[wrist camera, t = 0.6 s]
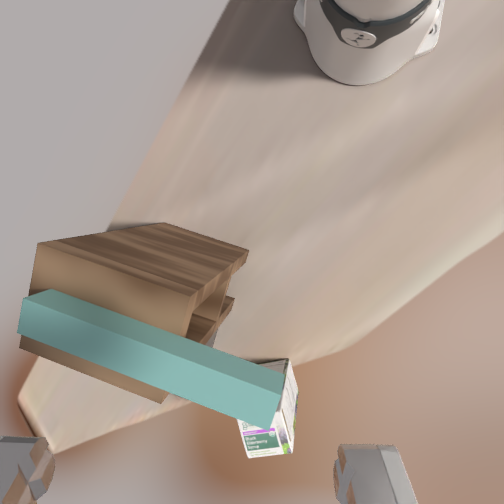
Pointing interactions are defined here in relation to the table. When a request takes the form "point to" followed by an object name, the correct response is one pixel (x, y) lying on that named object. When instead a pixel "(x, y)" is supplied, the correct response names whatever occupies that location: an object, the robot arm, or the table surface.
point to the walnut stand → (140, 286)
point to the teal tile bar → (153, 356)
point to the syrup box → (274, 419)
